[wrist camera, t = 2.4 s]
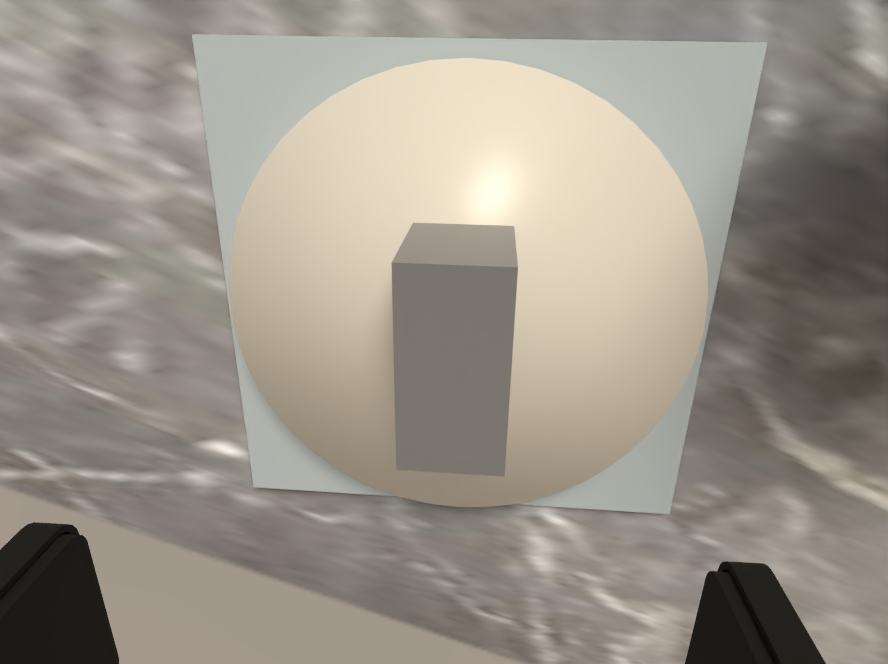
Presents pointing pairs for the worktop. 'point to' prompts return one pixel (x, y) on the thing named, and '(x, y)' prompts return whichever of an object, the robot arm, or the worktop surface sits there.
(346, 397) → the lid
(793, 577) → the worktop surface
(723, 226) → the mat
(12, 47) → the worktop surface
